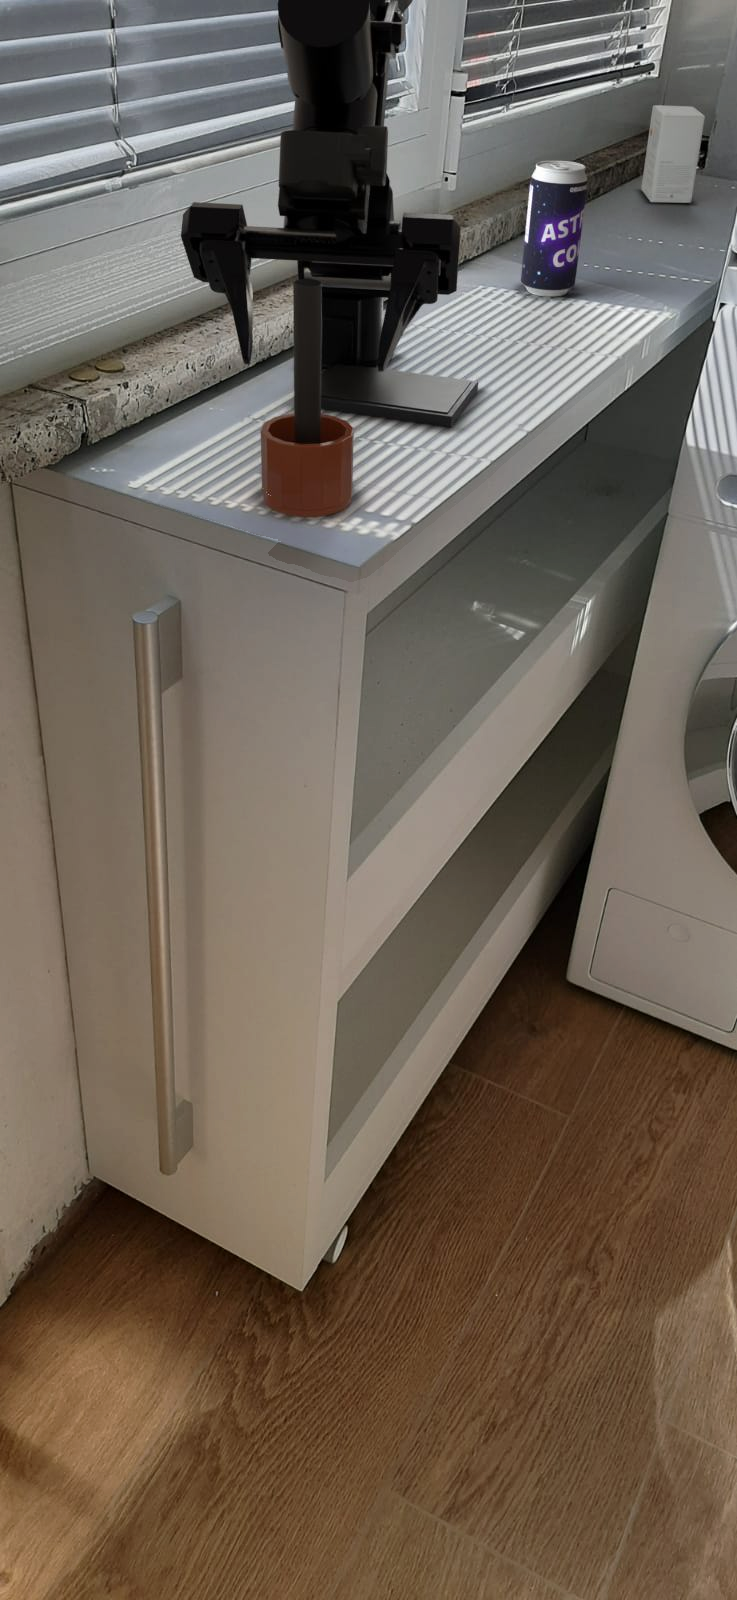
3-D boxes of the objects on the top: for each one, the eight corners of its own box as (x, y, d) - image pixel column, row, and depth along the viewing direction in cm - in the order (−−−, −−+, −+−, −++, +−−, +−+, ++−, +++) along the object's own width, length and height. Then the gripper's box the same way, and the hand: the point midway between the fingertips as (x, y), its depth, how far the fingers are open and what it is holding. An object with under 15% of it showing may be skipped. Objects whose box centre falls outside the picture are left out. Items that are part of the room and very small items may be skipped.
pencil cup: (280, 475, 91) (279, 407, 88) (363, 488, 90) (365, 420, 87) (248, 509, 87) (246, 438, 84) (336, 523, 85) (336, 451, 82)
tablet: (332, 372, 110) (333, 360, 109) (477, 391, 107) (478, 380, 106) (297, 405, 103) (297, 393, 102) (451, 427, 100) (451, 415, 99)
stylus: (299, 485, 89) (299, 277, 80) (323, 488, 88) (325, 280, 80) (291, 494, 87) (289, 284, 79) (315, 498, 87) (316, 287, 79)
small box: (691, 204, 168) (706, 115, 161) (649, 203, 168) (662, 114, 161) (680, 191, 174) (694, 105, 168) (640, 190, 174) (652, 104, 168)
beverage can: (531, 300, 129) (544, 171, 122) (512, 284, 134) (523, 160, 126) (582, 297, 131) (598, 170, 123) (561, 282, 135) (575, 159, 128)
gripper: (177, 65, 80) (152, 295, 78) (470, 78, 79) (454, 311, 77) (205, 175, 91) (185, 378, 89) (464, 187, 90) (449, 393, 88)
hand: (313, 365), depth 85 cm, fingers open, 9 cm apart
